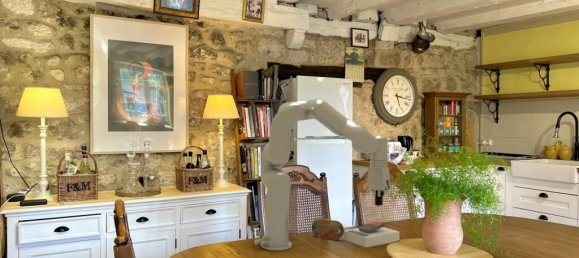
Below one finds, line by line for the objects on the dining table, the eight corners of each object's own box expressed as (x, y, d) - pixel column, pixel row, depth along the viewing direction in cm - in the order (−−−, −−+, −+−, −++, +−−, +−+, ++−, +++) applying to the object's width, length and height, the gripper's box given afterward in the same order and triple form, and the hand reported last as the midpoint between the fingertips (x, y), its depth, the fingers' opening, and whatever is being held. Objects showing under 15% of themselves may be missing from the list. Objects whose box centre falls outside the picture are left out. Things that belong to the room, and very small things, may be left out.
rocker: (368, 233, 183) (368, 230, 182) (358, 230, 188) (358, 227, 187) (384, 226, 188) (384, 223, 188) (374, 223, 193) (374, 220, 193)
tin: (311, 236, 193) (311, 217, 193) (314, 234, 195) (315, 216, 195) (341, 242, 184) (341, 222, 184) (344, 240, 187) (345, 221, 187)
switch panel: (366, 247, 176) (366, 236, 176) (343, 239, 188) (343, 229, 188) (399, 240, 188) (399, 230, 188) (375, 233, 199) (376, 223, 199)
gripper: (360, 162, 193) (360, 203, 194) (385, 165, 181) (385, 209, 181) (372, 162, 198) (372, 201, 198) (397, 164, 185) (397, 207, 186)
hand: (378, 205), depth 190 cm, fingers closed
